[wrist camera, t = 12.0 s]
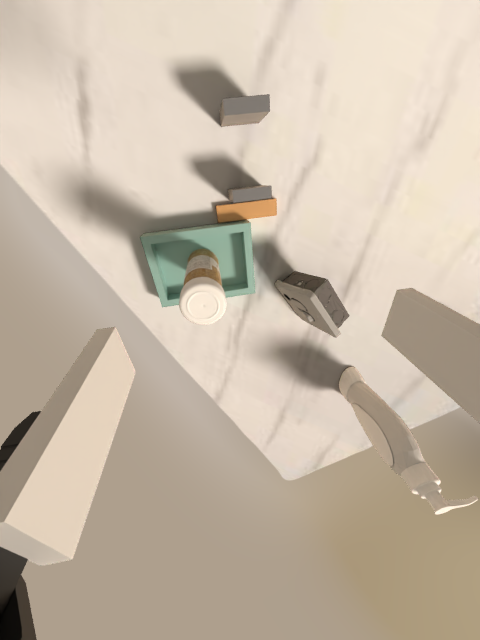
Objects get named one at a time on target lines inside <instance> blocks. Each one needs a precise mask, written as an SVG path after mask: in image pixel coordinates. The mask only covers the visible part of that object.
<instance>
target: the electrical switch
mask: <svg viewBox="0 0 480 640" xmlns="http://www.w3.org/2000/svg"><path fill="white" fill-rule="evenodd" d="M325 280H326V279H325V278H321V277H317V276H312V275H308V274H304V273H300V272H296V271H294V272H293V273H292V274H291V275H290V276H289V277H287V278H286V279H285V280H284V281H283V282H282V281H281V280H279V279H278V280H277V282H276V283H275V286H276V287H277V289H278V290H279V291H280V292H281V294H282V295H283V296H284V298H285V299H286V300H287V302H288V303H289V304H290V305H291V307H292V308H293V309H294V311H295V312H296V313H297V315H298V316H299V317H300V318H301V319H302V320H304V321H306V322H307V323H309V324H311V325H313V326H315V327H317V328H318V329H320V330H322V331H324V332H326V333H328V334H330V335H331V336H333V337H338V336H339V335H340V334H341V333H340V331H339V330H338V328H339V327H340V326H341V325H342V324H343V322H344V321H345V320H346V319H347V318H348V317H349V314H348V313H347V311H346V309H345V308H344V306H343V304H342V303H341V301H340V299H339V298H338V296H337V294H336V293H335V291H334V289H333V288H332V286H331V284H330V283H329V281H328V280H326V281H325ZM301 281H303V282H301ZM328 287H329V288H328Z"/></svg>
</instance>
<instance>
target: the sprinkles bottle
mask: <svg viewBox="0 0 480 640" xmlns="http://www.w3.org/2000/svg"><path fill="white" fill-rule="evenodd" d="M179 307H180V310H181V312H182V314H183V316H184V317H185V318H186V319H187V320H189V321H191V322H192V323H195V324H200V325H206V324H211V323H214V322H216V321H217V320H218V319H220V318H221V317H222V315H223V314H224V312H225V309H226V296H225V292H224V290H223V288H222V282H221V275H220V270H219V262H218V259H217V257H216V255H215V254H214V253H213V252H211V251H210V250H207V249H198V250H195V251H193V252H192V253H191V254H190V256H189V258H188V262H187V269H186V273H185V278H184V286H183V288H182V290H181V293H180V299H179Z"/></svg>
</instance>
